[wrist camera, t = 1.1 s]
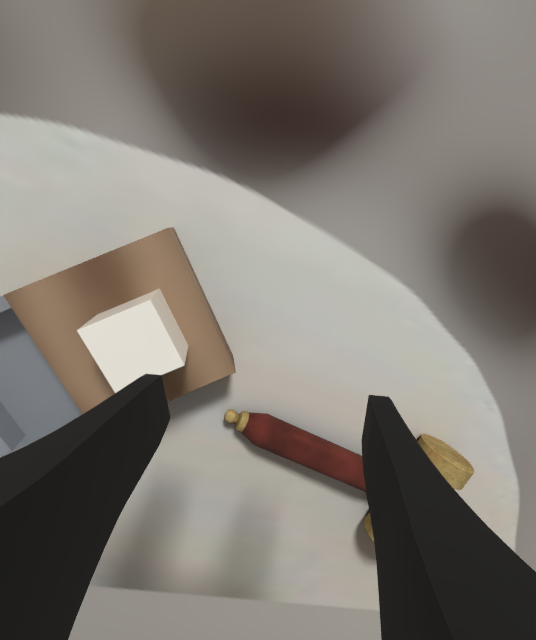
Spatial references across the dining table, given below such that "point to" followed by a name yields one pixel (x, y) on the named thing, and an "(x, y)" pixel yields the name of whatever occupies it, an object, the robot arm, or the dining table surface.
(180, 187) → the dining table surface
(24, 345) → the tray
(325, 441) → the gavel
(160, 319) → the tile block
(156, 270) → the board
